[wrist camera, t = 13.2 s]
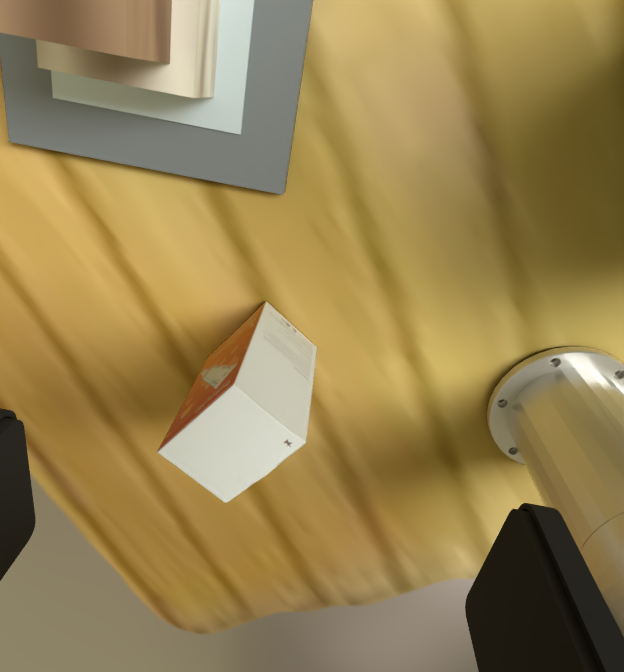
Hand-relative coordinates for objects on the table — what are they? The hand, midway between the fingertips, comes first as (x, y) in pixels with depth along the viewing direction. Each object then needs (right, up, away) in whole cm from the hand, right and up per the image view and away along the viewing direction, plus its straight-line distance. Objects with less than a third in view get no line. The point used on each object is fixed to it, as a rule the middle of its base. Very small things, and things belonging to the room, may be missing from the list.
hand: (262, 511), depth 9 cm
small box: (-4, +2, +33) cm, 34 cm away
